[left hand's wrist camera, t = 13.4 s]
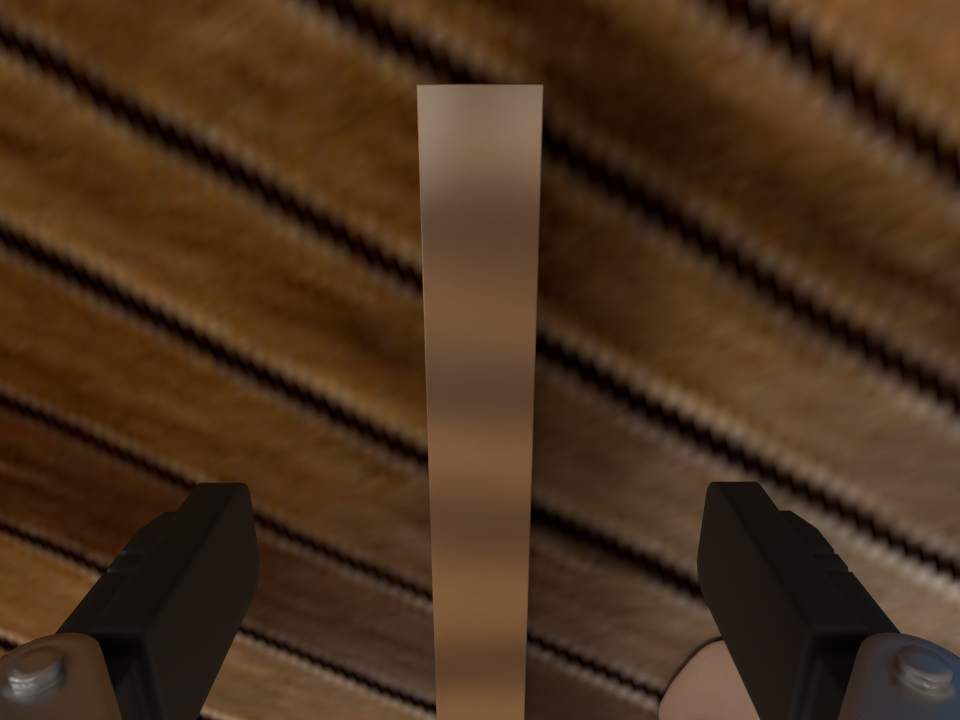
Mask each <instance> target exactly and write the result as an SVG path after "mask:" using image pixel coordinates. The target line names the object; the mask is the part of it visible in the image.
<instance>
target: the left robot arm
mask: <svg viewBox="0 0 960 720" xmlns="http://www.w3.org/2000/svg"><path fill="white" fill-rule="evenodd" d="M697 569H698V578H699V583H700V588H701V591H702V593H703V596H704V598H705V600H706V602H707V605H708V607H709V609H710V611H711V613H712V616H713V618H714V620H715V622H716V624H717V626H718V629H719V631H720V633H721V635H722V637H723V640H724V642H725V644H726V646H727V648H728V651H729V653H730V655H731V657H732V659H733V661H734V664H735V666H736V668H737V670H738V672H739V675H740V677H741V679H742V681H743V683H744V686H745V688H746V690H747V692H748V694H749V696H750V699H751V701H752V703H753V705H754V707H755V710H756V712H757V714H758V716H759V718H760V720H960V658H959V657H958V656H956V655H955V654H953V653H952V652H950V651H948V650H946V649H945V648H943V647H941V646H939V645H937V644H935V643H932V642H930V641H928V640H925V639H922V638H919V637H915V636H911V635H907V634H901V633H900V632H899V630H898V629H897V628H896V627H895V625H894V624H893V623H892V622H891V620H890V619H889V618H888V617H887V615H886V614H885V613H884V612H883V610H882V609H881V608H880V607H879V605H878V604H877V603H876V602H875V600H874V599H873V598H872V597H871V595H870V594H869V593H868V592H867V590H866V589H865V588H864V587H863V585H862V584H861V583H860V582H859V580H858V579H857V578H856V577H855V575H854V574H853V573H852V572H849V571H848V567H847V565H846V564H845V563H844V562H843V560H842V559H841V558H840V557H839V555H838V554H834V549H833V548H832V547H831V545H830V544H829V543H828V542H827V540H826V539H825V538H824V537H823V535H822V534H821V533H820V532H819V530H818V529H817V528H815V527H814V526H812V525H811V524H809V523H808V522H806V521H805V520H803V519H802V518H801V517H799V516H798V515H796V514H795V513H793V512H792V511H779V510H778V508H777V507H776V506H775V504H774V503H773V502H772V500H771V499H770V497H769V496H768V495H767V493H766V492H765V491H764V489H763V488H762V487H761V485H760V484H759V483H757V482H711V483H710V485H709V486H708V489H707V493H706V499H705V506H704V513H703V521H702V528H701V535H700V542H699V549H698V557H697ZM258 577H259V553H258V546H257V539H256V531H255V524H254V517H253V510H252V503H251V496H250V492H249V489H248V486H247V485H246V484H245V483H199V484H198V485H197V486H196V487H195V488H194V489H193V491H192V492H191V493H190V495H189V496H188V497H187V499H186V500H185V501H184V503H183V504H182V505H181V507H180V508H179V509H178V511H177V512H165V513H163V514H162V515H160V516H159V517H157V518H156V519H154V520H153V521H151V522H150V523H149V524H147V525H146V526H144V527H143V528H141V529H140V530H138V532H137V533H136V534H135V535H134V537H133V538H132V539H131V540H130V542H129V543H128V544H127V545H126V546H125V548H124V549H123V550H122V554H121V556H117V558H116V559H115V560H114V561H113V563H112V564H111V565H110V566H109V568H108V569H107V574H103V575H102V576H101V577H100V579H99V580H98V581H97V582H96V584H95V585H94V586H93V587H92V589H91V590H90V591H89V592H88V594H87V595H86V596H85V597H84V598H83V600H82V601H81V602H80V603H79V605H78V606H77V607H76V608H75V610H74V611H73V612H72V613H71V615H70V616H69V617H68V618H67V620H66V621H65V622H64V623H63V625H62V626H61V627H60V628H59V629H58V631H57V632H56V633H55V634H53V635H49V636H45V637H41V638H38V639H35V640H32V641H30V642H28V643H25V644H23V645H21V646H19V647H17V648H15V649H14V650H12V651H10V652H8V653H7V654H5V655H4V656H2V657H1V658H0V720H197V717H198V715H199V713H200V711H201V709H202V707H203V704H204V702H205V700H206V698H207V696H208V694H209V691H210V689H211V687H212V685H213V683H214V681H215V678H216V676H217V674H218V672H219V670H220V668H221V666H222V663H223V661H224V659H225V657H226V655H227V653H228V650H229V648H230V646H231V644H232V642H233V640H234V637H235V635H236V633H237V631H238V629H239V627H240V625H241V622H242V620H243V618H244V616H245V614H246V612H247V609H248V607H249V605H250V603H251V601H252V599H253V596H254V594H255V591H256V588H257V583H258Z"/></svg>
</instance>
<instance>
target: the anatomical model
mask: <svg viewBox="0 0 960 720" xmlns="http://www.w3.org/2000/svg"><path fill="white" fill-rule="evenodd" d="M658 715H659V720H760V718H759V716H758V714H757V712H756V710H755V707H754V705H753V703H752V701H751V699H750V696H749V694H748V692H747V690H746V688H745V686H744V683H743V681H742V679H741V677H740V675H739V672H738V670H737V668H736V666H735V664H734V661H733V659H732V657H731V655H730V653H729V651H728V648H727V646H726V644H725V642H724V640H720V641H716V642H713V643H711V644H709V645H707V646H705V647H704V648H702V649H701V650H700V651H699V652H698V653H697V654H696V655H695V656H694V657H692V658H691V659H690V661H689V662H688V663H687V664H686V666H685V667H684V668H683V669H682V670H681V672H680V673H679V674H678V675H677V676H676V678H675V679H674V680H673V682H672V683H671V685H670V687H669V688H668V690H667V692H666V694H665V695H664V697H663V699H662V701H661V703H660V706H659V711H658Z"/></svg>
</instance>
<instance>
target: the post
mask: <svg viewBox="0 0 960 720" xmlns="http://www.w3.org/2000/svg"><path fill="white" fill-rule="evenodd" d="M543 99H544V84H417V116H418V147H419V178H420V210H421V241H422V273H423V304H424V335H425V367H426V398H427V429H428V461H429V492H430V523H431V555H432V586H433V617H434V649H435V680H436V711H437V720H524V714H525V682H526V650H527V617H528V585H529V552H530V520H531V488H532V455H533V423H534V390H535V358H536V326H537V293H538V261H539V228H540V196H541V164H542V131H543Z"/></svg>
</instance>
